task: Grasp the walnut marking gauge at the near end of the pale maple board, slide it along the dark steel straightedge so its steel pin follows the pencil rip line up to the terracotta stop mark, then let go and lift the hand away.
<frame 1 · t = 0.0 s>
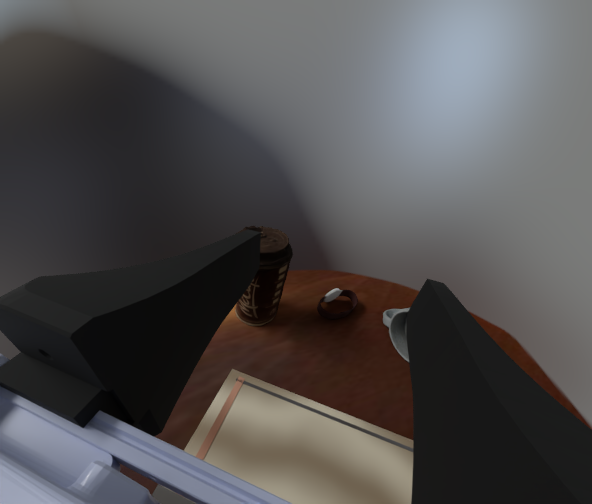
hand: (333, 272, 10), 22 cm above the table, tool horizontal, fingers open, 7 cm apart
watch: (335, 310, 41), on the table
maple board: (344, 499, 20), on the table
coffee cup: (256, 310, 38), on the table
ceramic mug: (409, 342, 37), on the table
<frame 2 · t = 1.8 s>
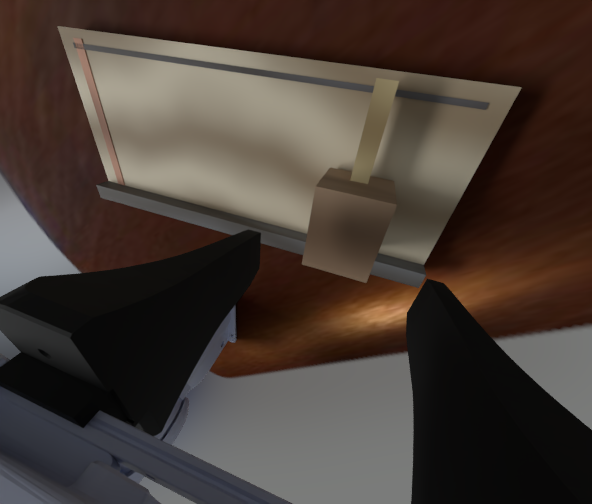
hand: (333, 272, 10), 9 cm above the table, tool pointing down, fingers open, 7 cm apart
marking gauge: (357, 185, 13), point 4 cm above the table, slide at 0.0 cm
maple board: (255, 155, 18), on the table
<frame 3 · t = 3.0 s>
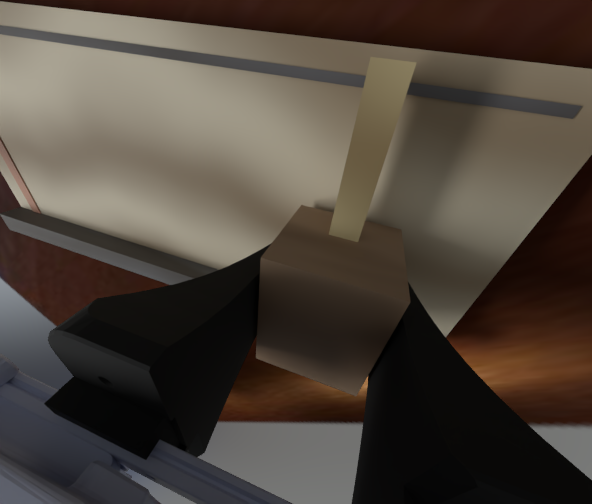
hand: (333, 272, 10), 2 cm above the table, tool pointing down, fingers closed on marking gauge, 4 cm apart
marking gauge: (341, 245, 8), point 4 cm above the table, slide at 0.0 cm, touching gripper
maple board: (203, 179, 13), on the table
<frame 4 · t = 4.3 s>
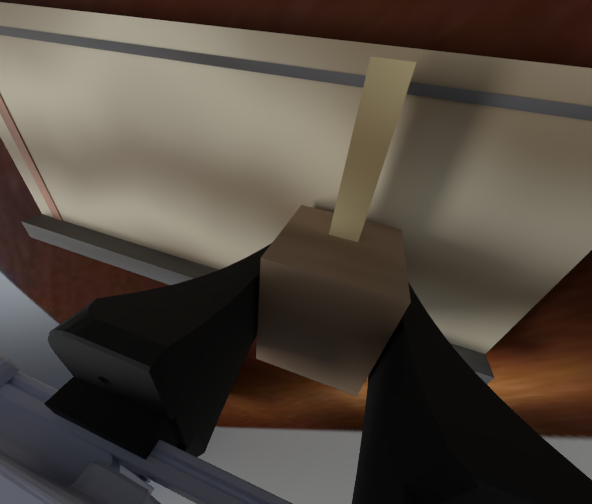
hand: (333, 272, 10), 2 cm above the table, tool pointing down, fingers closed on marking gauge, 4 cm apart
marking gauge: (341, 245, 8), point 4 cm above the table, slide at 1.9 cm, touching gripper
maple board: (234, 187, 12), on the table
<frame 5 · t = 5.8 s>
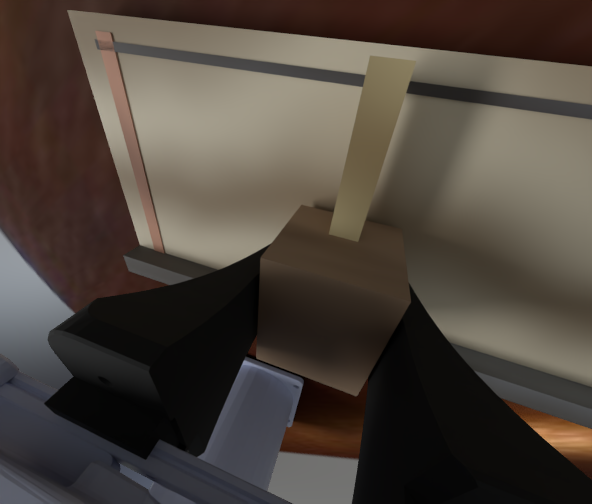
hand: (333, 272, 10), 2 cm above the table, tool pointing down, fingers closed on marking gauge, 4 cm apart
marking gauge: (341, 244, 8), point 4 cm above the table, slide at 10.0 cm, touching gripper
maple board: (392, 225, 11), on the table
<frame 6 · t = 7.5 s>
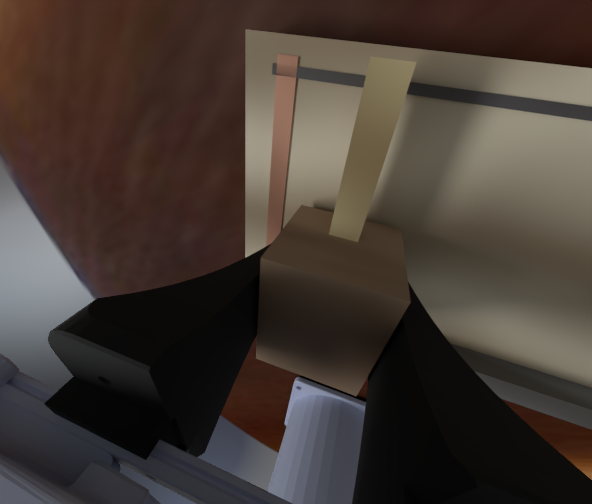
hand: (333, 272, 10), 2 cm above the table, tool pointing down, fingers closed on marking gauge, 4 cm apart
marking gauge: (341, 245, 8), point 4 cm above the table, slide at 17.3 cm, touching gripper
maple board: (574, 270, 10), on the table
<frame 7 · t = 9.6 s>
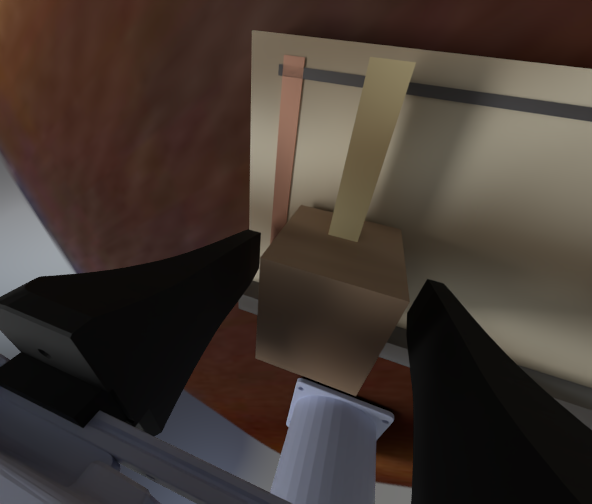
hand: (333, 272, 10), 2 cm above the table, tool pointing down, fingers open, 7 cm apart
marking gauge: (340, 245, 8), point 4 cm above the table, slide at 17.5 cm
maple board: (579, 272, 10), on the table
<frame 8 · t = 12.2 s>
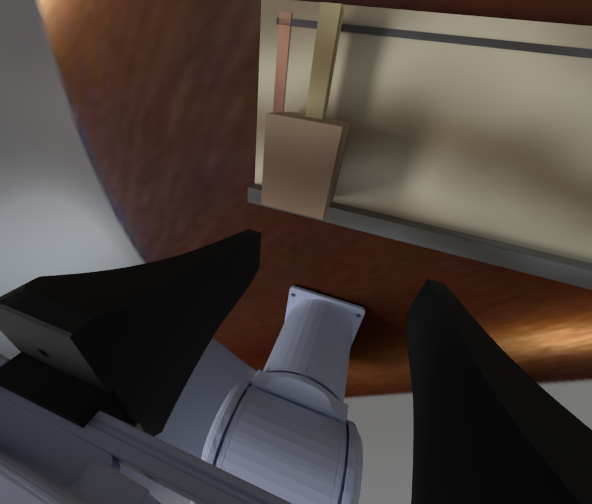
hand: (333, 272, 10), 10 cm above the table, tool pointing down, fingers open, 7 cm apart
marking gauge: (312, 120, 14), point 4 cm above the table, slide at 17.5 cm
maple board: (465, 154, 15), on the table
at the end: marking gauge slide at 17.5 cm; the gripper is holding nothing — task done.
